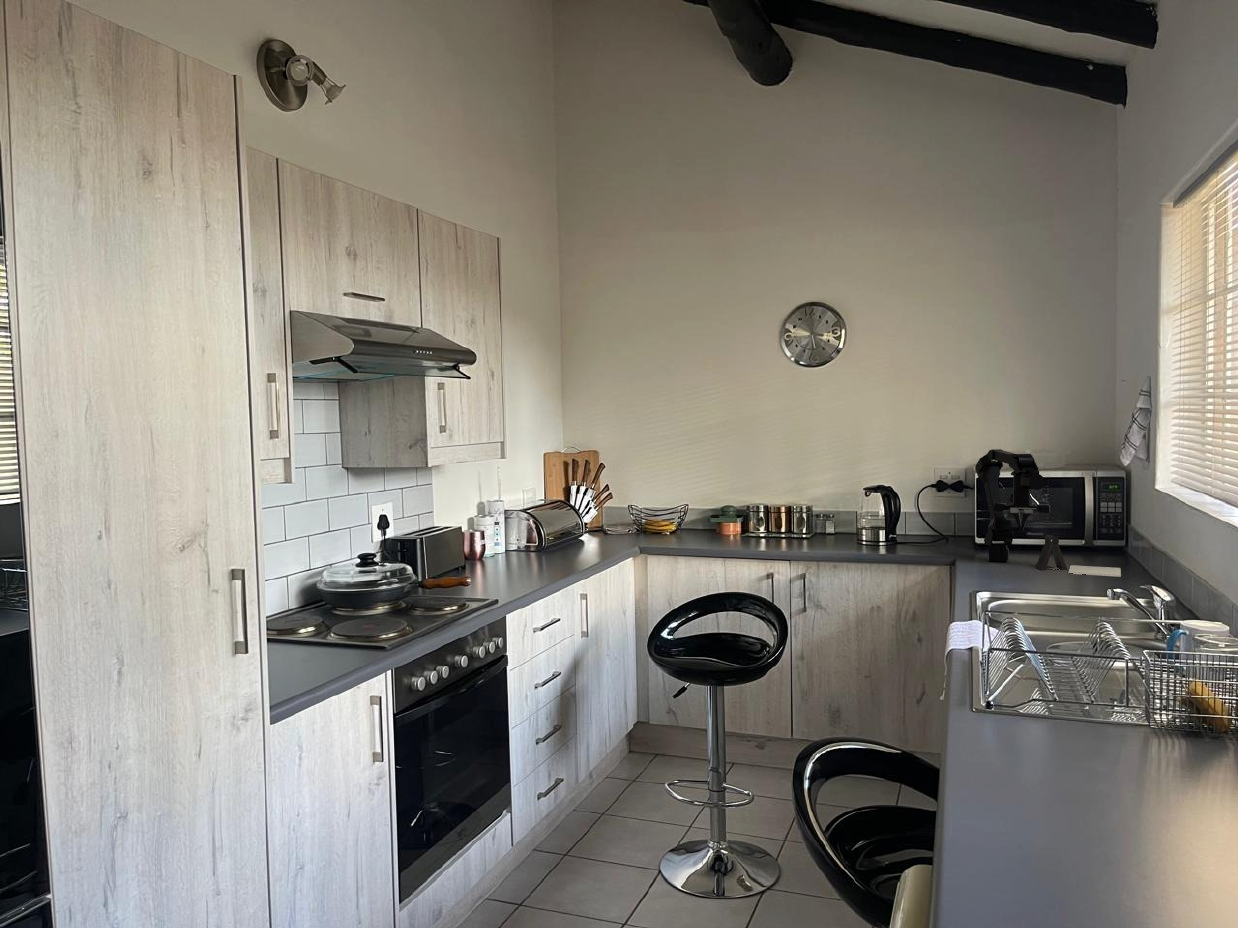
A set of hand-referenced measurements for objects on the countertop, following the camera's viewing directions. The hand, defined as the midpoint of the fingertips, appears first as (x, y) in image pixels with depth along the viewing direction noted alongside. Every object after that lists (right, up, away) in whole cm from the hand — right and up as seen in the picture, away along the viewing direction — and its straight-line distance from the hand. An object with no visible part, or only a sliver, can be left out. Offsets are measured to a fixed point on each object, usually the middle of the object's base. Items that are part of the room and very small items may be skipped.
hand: (1021, 531), depth 351 cm
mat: (+21, -13, -10) cm, 27 cm away
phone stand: (+9, -13, -4) cm, 16 cm away
